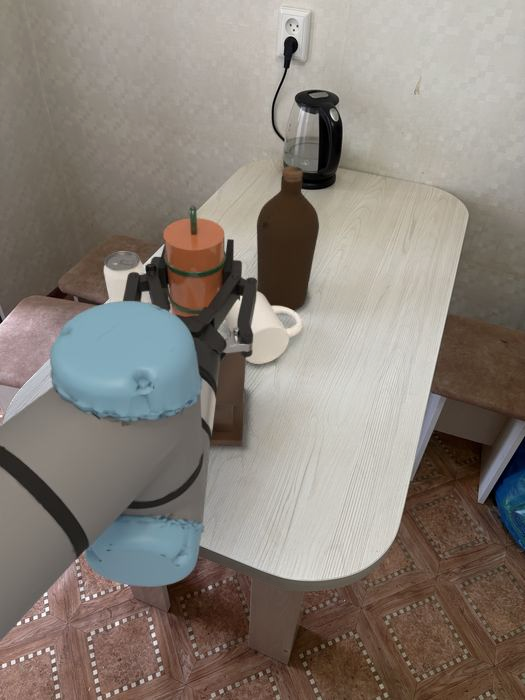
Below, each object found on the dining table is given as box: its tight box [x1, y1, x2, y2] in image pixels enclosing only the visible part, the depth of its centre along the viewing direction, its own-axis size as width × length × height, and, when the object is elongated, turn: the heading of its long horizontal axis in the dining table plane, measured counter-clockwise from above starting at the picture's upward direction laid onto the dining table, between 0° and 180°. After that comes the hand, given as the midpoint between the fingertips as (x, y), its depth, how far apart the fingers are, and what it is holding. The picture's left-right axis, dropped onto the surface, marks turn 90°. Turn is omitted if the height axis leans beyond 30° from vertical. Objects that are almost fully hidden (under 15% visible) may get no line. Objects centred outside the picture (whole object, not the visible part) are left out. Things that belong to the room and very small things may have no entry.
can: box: [103, 250, 150, 303], centre depth 86 cm, size 6×6×12 cm
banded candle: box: [163, 204, 226, 317], centre depth 56 cm, size 7×7×14 cm
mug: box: [224, 291, 304, 365], centre depth 84 cm, size 12×10×8 cm
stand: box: [210, 352, 247, 447], centre depth 71 cm, size 10×10×10 cm
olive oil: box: [256, 165, 320, 311], centre depth 88 cm, size 11×11×25 cm
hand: (200, 247), depth 60 cm, fingers closed on banded candle, 6 cm apart
